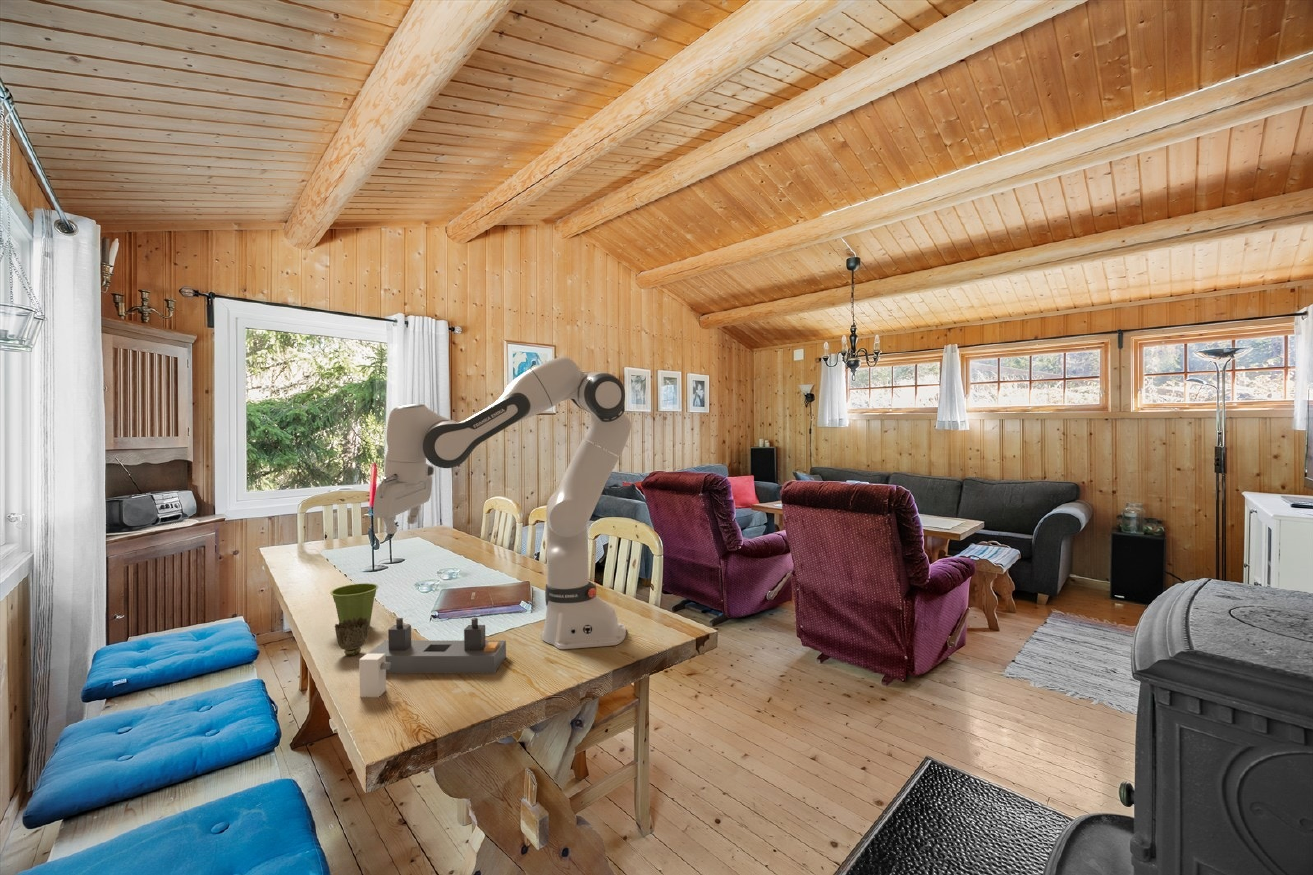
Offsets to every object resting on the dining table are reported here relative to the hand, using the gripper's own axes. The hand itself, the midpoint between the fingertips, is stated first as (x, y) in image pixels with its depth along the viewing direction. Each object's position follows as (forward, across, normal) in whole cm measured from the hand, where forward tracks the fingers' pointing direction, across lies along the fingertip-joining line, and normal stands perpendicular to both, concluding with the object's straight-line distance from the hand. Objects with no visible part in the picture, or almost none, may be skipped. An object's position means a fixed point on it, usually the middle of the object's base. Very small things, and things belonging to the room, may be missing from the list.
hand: (402, 527), depth 133 cm
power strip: (+31, -4, -13) cm, 34 cm away
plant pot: (+36, +17, +21) cm, 45 cm away
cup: (+34, +1, +11) cm, 36 cm away
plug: (+31, -18, -5) cm, 36 cm away
